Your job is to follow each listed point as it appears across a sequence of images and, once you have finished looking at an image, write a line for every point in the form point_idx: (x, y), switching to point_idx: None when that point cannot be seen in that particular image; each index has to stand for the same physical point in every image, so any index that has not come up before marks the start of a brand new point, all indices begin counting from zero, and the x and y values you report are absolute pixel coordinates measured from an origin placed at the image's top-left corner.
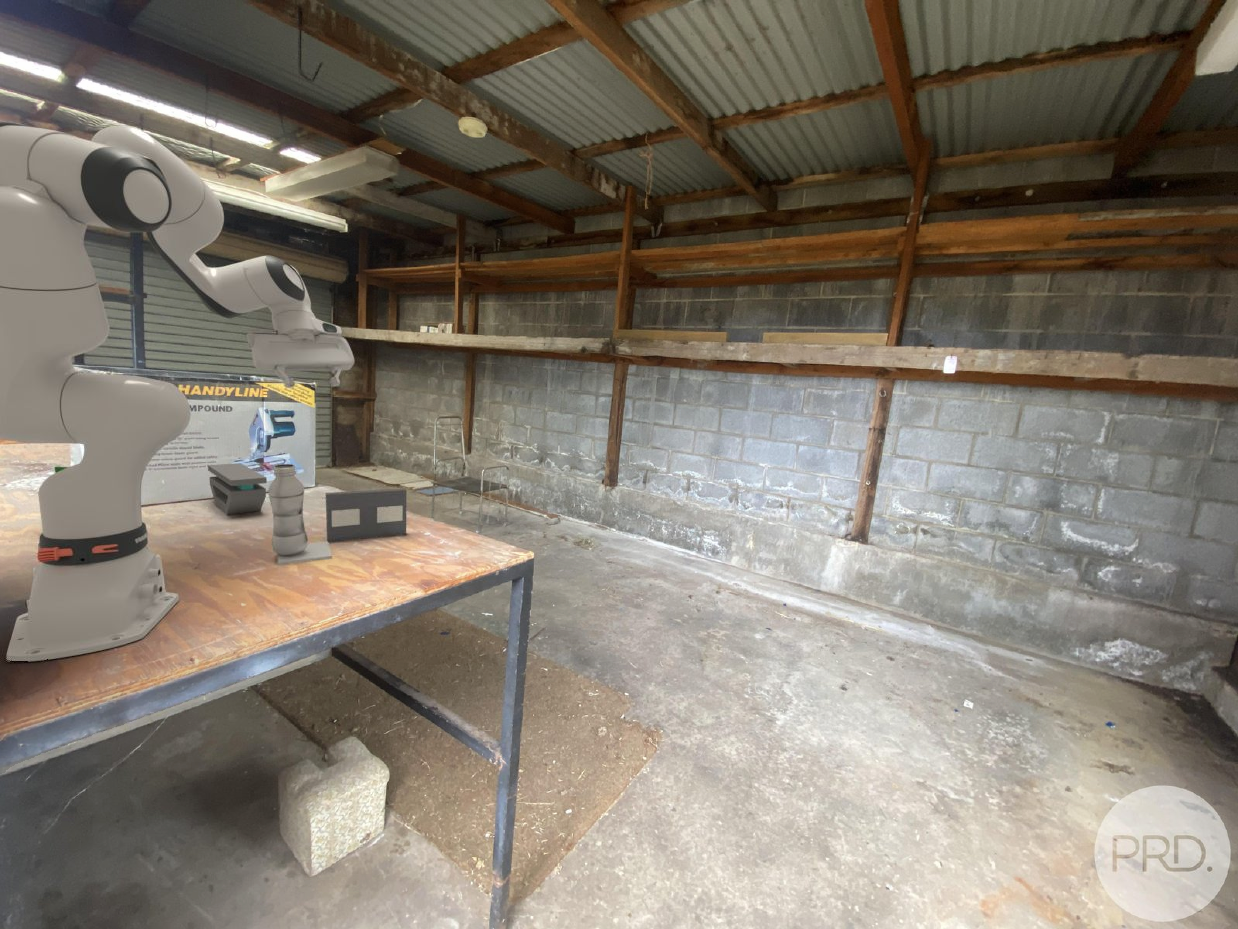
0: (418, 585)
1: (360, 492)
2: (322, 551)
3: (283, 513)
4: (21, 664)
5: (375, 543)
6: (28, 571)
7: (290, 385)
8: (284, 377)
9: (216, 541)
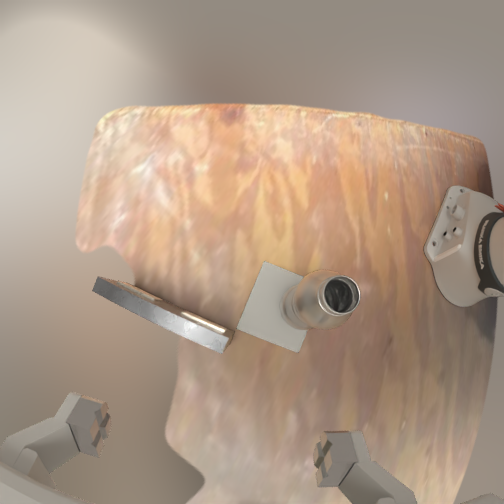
0: (241, 117)
1: (169, 314)
2: (264, 287)
3: (329, 286)
4: None
5: (186, 279)
6: (473, 420)
7: (343, 431)
8: (375, 463)
9: None
